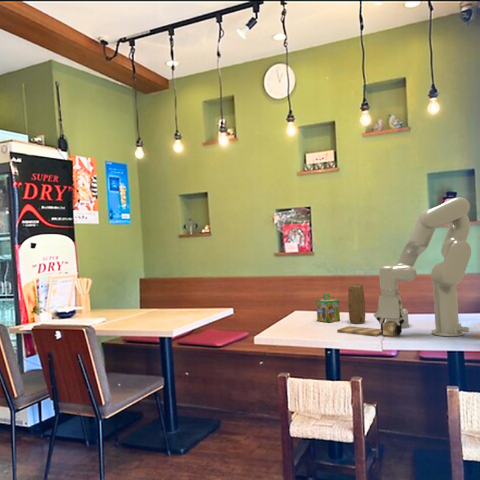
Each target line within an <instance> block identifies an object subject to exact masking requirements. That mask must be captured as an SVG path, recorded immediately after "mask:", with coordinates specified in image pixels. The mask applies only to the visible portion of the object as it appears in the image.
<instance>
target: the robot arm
mask: <svg viewBox="0 0 480 480" xmlns="http://www.w3.org/2000/svg"><path fill="white" fill-rule="evenodd" d="M470 208H471V204H470V202H469V200H468V199H466V198H464V197H461V196H460V197H453V198H449V199H447V200H446V201H444V203H441V204H440V205H439V204H438V206H437V205H436V206H435V207H431V208H429V209H425V210H423V211H422V212H421V213H420V214H418V215H419V216H418V217H417V220H416V222H415V224H414V226H413V229H412V232H411V234H410V235H409V238H408V240H407V242H406V243H405V246H404V248H403V249H402V251H401V253H400V255H399V257H398V260H397V261H396V264H395V265H381V266H379V268H378V269H379V271H378V275H379V288H380V289H379V291H380V292H379V293H380V294H379V297H378V304H377V311H376V312H374V313H373V317H374V318H375V319H376V321H378V323H379V324H380V329H381V331H382V333H383V323H384V322H386V319H395V320H396V323H397V325H396V331H397V334H400V335H401V334H402V331H403V329H402V326H401V325H402V324H403V323H404V322H405V320H406V319H407V318H408V319H409V315H408V316H407V315H406V314H405V313H404V312H403V309H404V308H403V302H402V298H401V296H400V295H401V293H402V291H400V290H399V289H398V288H399V286H398V285H399V283H398V282H403V283H404V282H407V283H409V282H412V281H414V280H415V279H416V277H417V271H416V268H415V267H414V265H415V264H416V261H417V260H418V258H419V256H420V255H422V254H423V253H424V252H425V251H426V250H427V249H428V247H429V246H430V243H431V240H432V238H433V235H434V233H435V231H436V229H437V228H439V227H443V226H445V225H447V224H448V226H447V227H448V228H447V231H446V234H445V237H444V240H443V243H442V245H441V249H440V253H441V256H442V257H443V258H444V259H443V262H439V263H436V264H435V265H434V266H433V267H432V269H431V272H430V275H431V276H430V277H431V282H432V283H431V284H432V288H433V289H432V291H433V305H434V309H433V310H434V323H435V324H434V325H435V328H434V329H432V330H431V334H433V335H435V336H440V337H460V336H463V335H464V332H466V333H469V332H470V327H468V326H462V323H461V322H459V321H460V320H459V318H460V317H459V302H458V289H457V285H459V284H460V283H461V282H462V281H463V279H464V277H465V274H466V271H467V267H468V264H469V262H470V258H471V257H472V256H471V255H472V247H471V245H470V244H469V242H468V241H467V240H468V237H469V234H470V231H471V230H470V228H471V222H470V218H469V216H468V214H469V211H470ZM402 317H403V319H402V320H401V319H400V318H402Z"/></svg>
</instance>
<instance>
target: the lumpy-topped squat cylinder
mask: <svg viewBox="0 0 480 480" xmlns="http://www.w3.org/2000/svg"><path fill="white" fill-rule="evenodd" d="M403 312H404V313H405V314H406V315H407V316H408V318H407V319H406V320H405V322H404V323H403V324H402V325H401V326H402V330H403V329H408V328H409V311H408V310H407V309H406V308H403ZM400 319H401V320H402V319H403V317H402V318H400ZM387 321H396V320H395V319H385V322H387ZM407 327H408V328H407Z"/></svg>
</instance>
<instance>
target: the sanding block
mask: <svg viewBox="0 0 480 480" xmlns="http://www.w3.org/2000/svg"><path fill="white" fill-rule="evenodd" d="M396 325H397V323H396V321H387V322H386V321H385V322H384V323H383V334H382V337H387V338H395V337H397V335H398V336H400V335H399V334H397V331H396Z"/></svg>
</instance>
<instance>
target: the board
mask: <svg viewBox="0 0 480 480" xmlns="http://www.w3.org/2000/svg"><path fill="white" fill-rule="evenodd" d="M336 333H340V334H341V333H342V334H350V335H361V336H367V337H378V336H381V335H382V336H383V333H382V331H381V328H375V327H373V328H372V327H366V326H365V327H364V326H353V325H352V326H351V325H347V326H344V327H341V328H337V330H336Z"/></svg>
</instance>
